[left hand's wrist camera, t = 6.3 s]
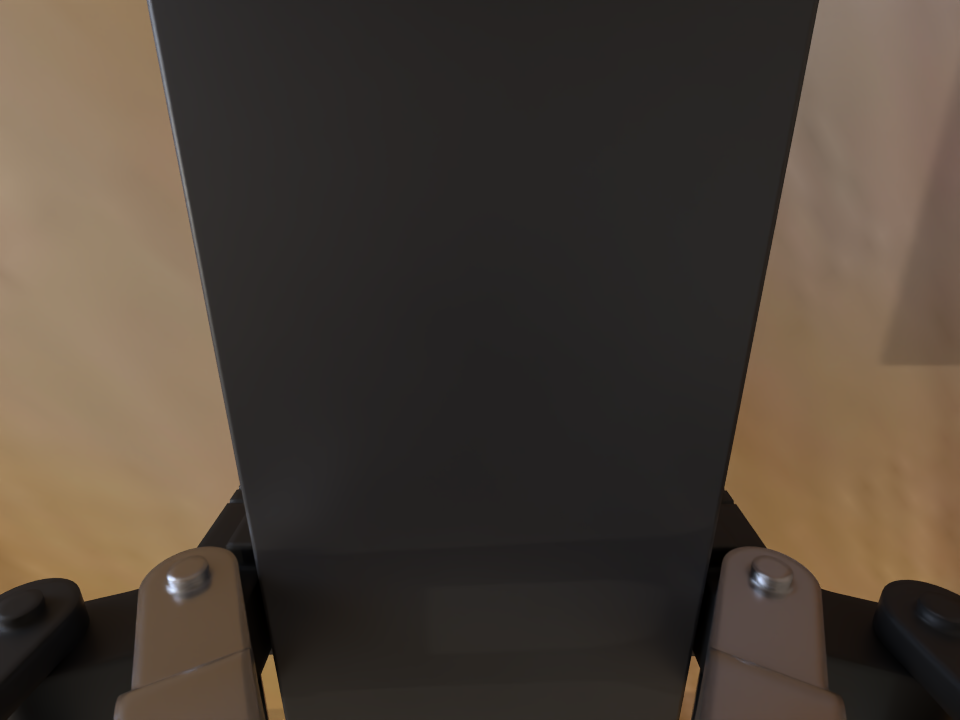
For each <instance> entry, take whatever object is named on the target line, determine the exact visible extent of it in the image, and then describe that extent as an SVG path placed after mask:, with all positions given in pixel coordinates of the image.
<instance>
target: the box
mask: <svg viewBox="0 0 960 720" xmlns="http://www.w3.org/2000/svg"><path fill="white" fill-rule="evenodd" d="M818 3H819V0H147V4H148V9H149V14H150V20H151V25H152V30H153V35H154V40H155V46H156V51H157V56H158V61H159V66H160V71H161V77H162V82H163V87H164V92H165V97H166V102H167V108H168V113H169V118H170V123H171V128H172V134H173V139H174V144H175V149H176V154H177V159H178V165H179V170H180V175H181V180H182V185H183V191H184V196H185V201H186V206H187V211H188V216H189V222H190V227H191V232H192V237H193V242H194V247H195V253H196V258H197V263H198V268H199V273H200V279H201V284H202V289H203V294H204V299H205V304H206V310H207V315H208V320H209V325H210V330H211V335H212V341H213V346H214V351H215V356H216V361H217V367H218V372H219V377H220V382H221V387H222V392H223V398H224V403H225V408H226V413H227V418H228V423H229V429H230V434H231V439H232V444H233V449H234V455H235V460H236V465H237V470H238V475H239V480H240V486H241V491H242V496H243V501H244V506H245V512H246V517H247V522H248V527H249V532H250V537H251V543H252V548H253V553H254V558H255V563H256V568H257V574H258V579H259V584H260V589H261V594H262V600H263V605H264V610H265V615H266V620H267V625H268V631H269V636H270V641H271V646H272V651H273V656H274V662H275V667H276V672H277V677H278V682H279V688H280V693H281V698H282V703H283V708H284V713H285V719H286V720H679V717H680V712H681V707H682V702H683V697H684V691H685V686H686V681H687V676H688V671H689V666H690V661H691V655H692V650H693V645H694V640H695V635H696V630H697V625H698V619H699V614H700V609H701V604H702V599H703V594H704V589H705V584H706V578H707V573H708V568H709V563H710V558H711V553H712V548H713V542H714V537H715V532H716V527H717V522H718V517H719V512H720V506H721V501H722V496H723V491H724V486H725V481H726V476H727V471H728V465H729V460H730V455H731V450H732V445H733V440H734V435H735V429H736V424H737V419H738V414H739V409H740V404H741V399H742V393H743V388H744V383H745V378H746V373H747V368H748V363H749V358H750V352H751V347H752V342H753V337H754V332H755V327H756V322H757V316H758V311H759V306H760V301H761V296H762V291H763V286H764V280H765V275H766V270H767V265H768V260H769V255H770V250H771V245H772V239H773V234H774V229H775V224H776V219H777V214H778V209H779V203H780V198H781V193H782V188H783V183H784V178H785V173H786V167H787V162H788V157H789V152H790V147H791V142H792V137H793V132H794V126H795V121H796V116H797V111H798V106H799V101H800V96H801V90H802V85H803V80H804V75H805V70H806V65H807V60H808V54H809V49H810V44H811V39H812V34H813V29H814V24H815V19H816V13H817V8H818Z"/></svg>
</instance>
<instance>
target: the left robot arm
mask: <svg viewBox="0 0 960 720" xmlns="http://www.w3.org/2000/svg"><path fill="white" fill-rule="evenodd" d="M269 655H273V651H272V646H271V641H270V636H269V631H268V625H267V620H266V615H265V610H264V605H263V600H262V594H261V589H260V584H259V579H258V574H257V568H256V563H255V558H254V553H253V548H252V543H251V537H250V532H249V527H248V522H247V517H246V512H245V506H244V501H243V496H242V491H241V486H239V490H236V492H235V493H234V495H233V496H232V498H231V499H230V503H227V505H226V506H225V508H224V509H223V511H222V512H221V514H220V515H219V516H218V518H217V519H216V521H215V522H214V524H213V525H212V527H211V528H210V530H209V531H208V532H207V534H206V535H205V537H204V538H203V540H202V541H201V543H200V544H199V545H198V547H197V548H193V549H189V550H186V551H183V552H180V553H178V554H176V555H173V556H171V557H170V558H168V559H166V560H164V561H163V562H161V563H160V564H158V565H157V566H156V567H155V568H153V569H152V570H151V571H150V572H149V573H148V574H147V575H146V577H145V578H144V580H143V581H142V583H141V585H140V587H139V589H137V590H133V591H129V592H125V593H120V594H116V595H112V596H107V597H103V598H99V599H94V600H90V601H86V602H84V600H83V597H82V595H81V592H80V589H79V587H78V585H77V584H76V583H74V582H73V581H71V580H68V579H63V578H49V579H42V580H37V581H33V582H30V583H26V584H23V585H21V586H18V587H16V588H13V589H11V590H9V591H7V592H5V593H3V594H1V595H0V720H269V716H268V710H267V704H266V698H265V693H264V687H263V681H262V677H261V673H262V670H263V668H264V666H265V663H266V661H267V658H268V656H269ZM691 656H695V657H696V659H697V662H698V664H699V667H700V672H699V676H698V681H697V686H696V692H695V698H694V704H693V710H692V716H691V720H960V595H958V594H956V593H954V592H951V591H949V590H947V589H944V588H942V587H939V586H936V585H933V584H929V583H926V582H921V581H914V580H898V581H894V582H891V583H889V584H888V585H886V586H885V587H884V589H883V591H882V594H881V596H880V599H879V602H878V603H877V602H873V601H869V600H864V599H860V598H856V597H851V596H847V595H842V594H838V593H834V592H830V591H827V590H823V589H821V588H820V585H819V583H818V581H817V580H816V578H815V577H814V575H813V574H812V573H811V572H810V571H809V570H808V569H807V568H805V567H804V566H803V565H802V564H800V563H799V562H797V561H796V560H794V559H792V558H790V557H789V556H787V555H784V554H782V553H780V552H777V551H774V550H771V549H767V548H766V546H765V545H764V544H763V542H762V541H761V539H760V538H759V536H758V535H757V534H756V532H755V531H754V529H753V528H752V526H751V525H750V523H749V522H748V521H747V519H746V518H745V516H744V515H743V513H742V512H741V511H740V509H739V508H738V506H737V505H736V504H734V501H733V499H732V498H731V496H730V495H729V493H728V492H727V491H725V490H724V491H723V496H722V501H721V506H720V512H719V517H718V522H717V527H716V532H715V537H714V542H713V548H712V553H711V558H710V563H709V568H708V573H707V578H706V584H705V589H704V594H703V599H702V604H701V609H700V614H699V619H698V625H697V630H696V635H695V640H694V645H693V650H692V655H691Z"/></svg>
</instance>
